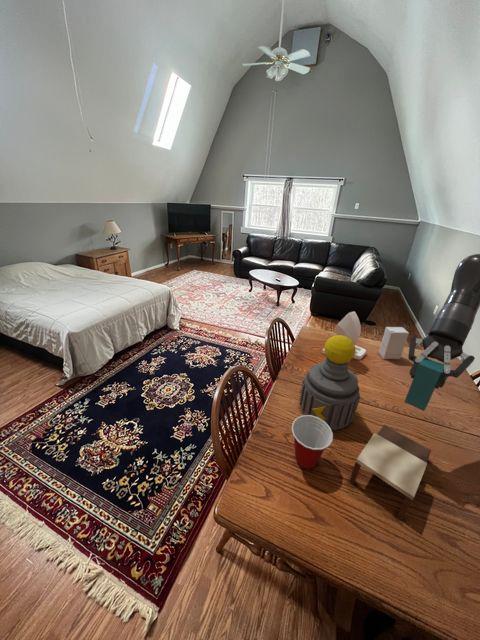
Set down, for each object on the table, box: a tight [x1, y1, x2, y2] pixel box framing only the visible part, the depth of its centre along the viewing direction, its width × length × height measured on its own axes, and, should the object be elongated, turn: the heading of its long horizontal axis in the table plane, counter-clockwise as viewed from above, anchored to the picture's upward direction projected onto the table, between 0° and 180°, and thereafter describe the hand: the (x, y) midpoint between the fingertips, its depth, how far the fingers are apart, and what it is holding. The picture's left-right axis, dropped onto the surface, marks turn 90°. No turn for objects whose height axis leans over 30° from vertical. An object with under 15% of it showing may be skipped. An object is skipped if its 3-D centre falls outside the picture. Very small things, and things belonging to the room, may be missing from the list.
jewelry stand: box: [321, 311, 367, 361], centre depth 124 cm, size 25×16×25 cm, turn 136°
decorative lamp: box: [299, 334, 361, 431], centre depth 88 cm, size 19×19×30 cm
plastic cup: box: [291, 414, 334, 470], centre depth 74 cm, size 11×11×12 cm
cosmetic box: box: [378, 326, 410, 360], centre depth 127 cm, size 8×6×15 cm
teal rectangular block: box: [404, 358, 444, 412], centre depth 68 cm, size 5×5×12 cm
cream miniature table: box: [349, 424, 432, 521], centre depth 73 cm, size 13×24×9 cm, turn 135°
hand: (424, 382), depth 66 cm, fingers closed on teal rectangular block, 4 cm apart
